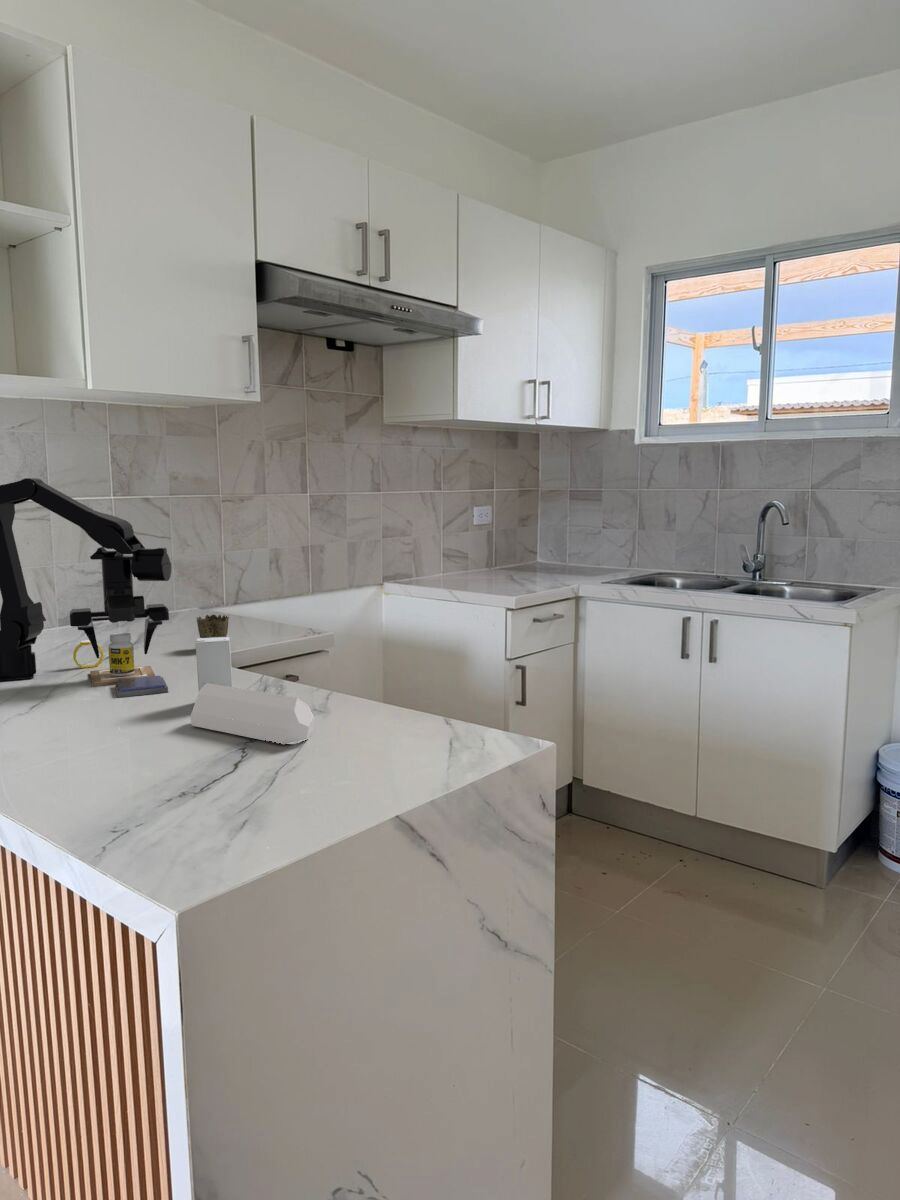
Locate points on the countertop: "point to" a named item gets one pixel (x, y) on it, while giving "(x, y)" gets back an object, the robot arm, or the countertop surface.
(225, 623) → the cup
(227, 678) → the skincare box
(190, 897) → the countertop surface
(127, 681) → the ink pad
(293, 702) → the crystal
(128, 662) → the supplement bottle
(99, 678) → the marked board
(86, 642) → the watch
